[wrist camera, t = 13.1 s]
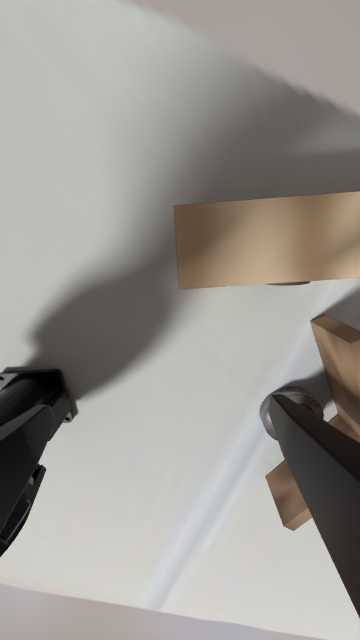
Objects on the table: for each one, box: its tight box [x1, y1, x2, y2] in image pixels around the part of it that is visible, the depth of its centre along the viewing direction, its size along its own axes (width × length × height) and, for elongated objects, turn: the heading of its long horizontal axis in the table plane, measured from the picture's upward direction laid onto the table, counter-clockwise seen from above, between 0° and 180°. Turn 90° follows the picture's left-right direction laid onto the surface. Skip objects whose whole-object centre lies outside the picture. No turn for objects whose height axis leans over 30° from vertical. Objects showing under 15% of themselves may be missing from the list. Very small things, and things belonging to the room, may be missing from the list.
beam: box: [174, 191, 360, 289], centre depth 16 cm, size 16×5×5 cm, turn 94°
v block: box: [266, 315, 360, 531], centre depth 21 cm, size 8×22×5 cm, turn 176°
